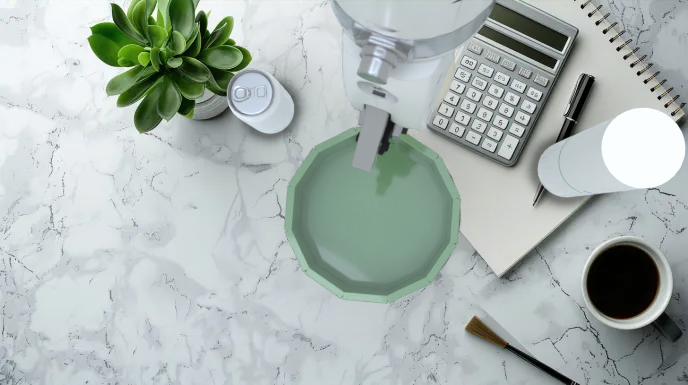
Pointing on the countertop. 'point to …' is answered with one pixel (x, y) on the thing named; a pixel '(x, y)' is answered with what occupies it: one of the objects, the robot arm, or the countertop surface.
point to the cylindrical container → (615, 155)
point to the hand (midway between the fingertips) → (405, 69)
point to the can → (260, 100)
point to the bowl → (372, 218)
